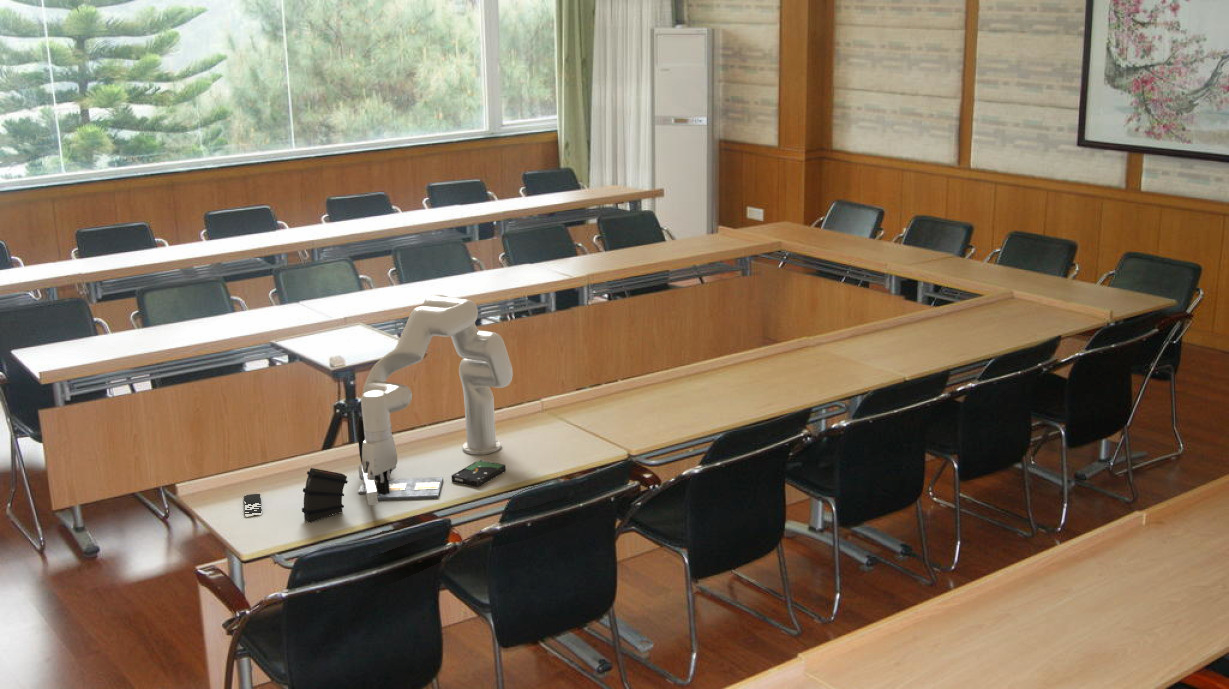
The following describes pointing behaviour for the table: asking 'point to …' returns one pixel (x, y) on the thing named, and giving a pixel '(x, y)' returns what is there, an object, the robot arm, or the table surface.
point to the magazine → (323, 494)
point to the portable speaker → (360, 434)
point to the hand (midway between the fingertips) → (383, 493)
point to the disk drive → (478, 473)
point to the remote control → (252, 500)
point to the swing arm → (368, 487)
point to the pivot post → (363, 489)
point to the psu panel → (413, 488)
